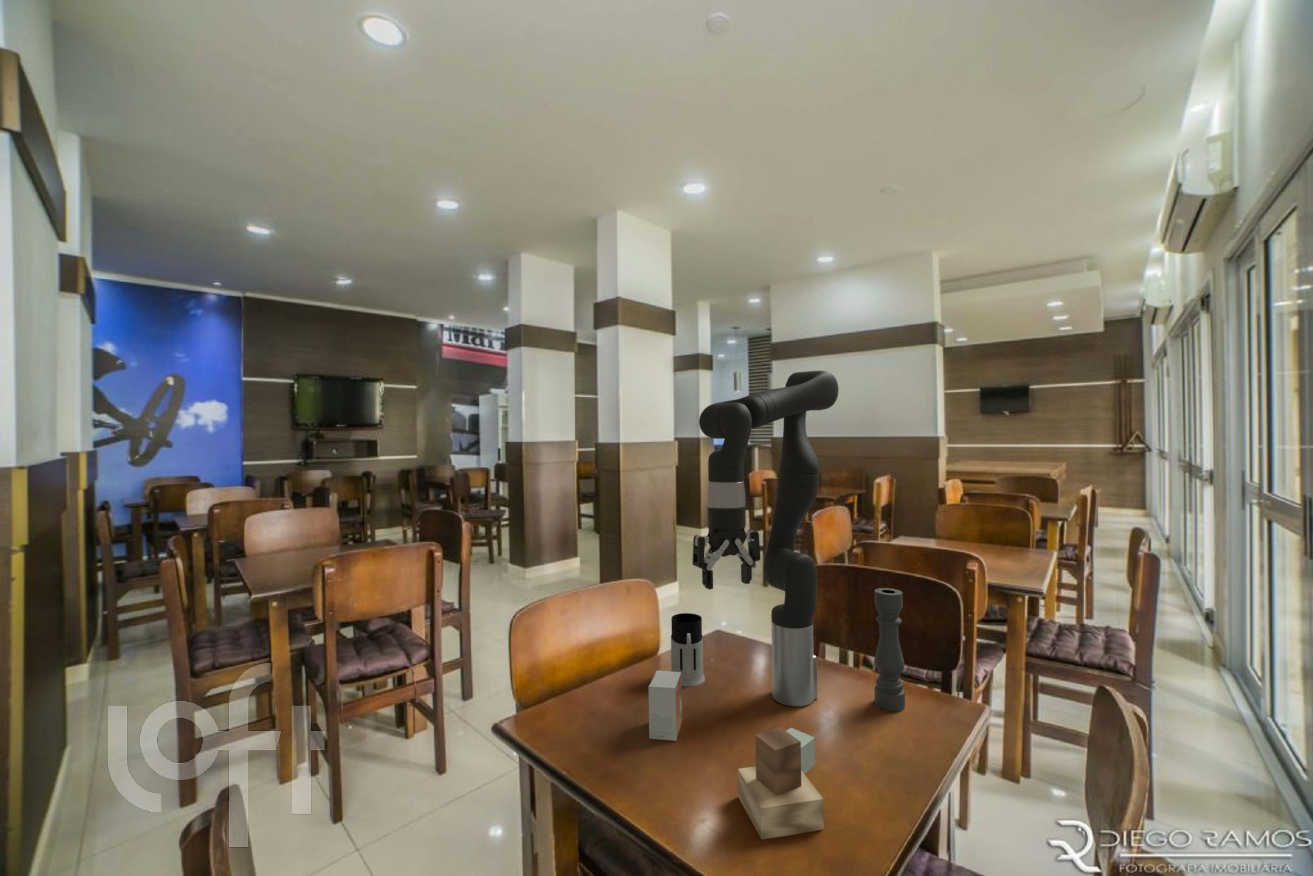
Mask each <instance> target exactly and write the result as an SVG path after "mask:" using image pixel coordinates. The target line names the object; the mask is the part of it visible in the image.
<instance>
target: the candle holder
mask: <svg viewBox="0 0 1313 876" xmlns="http://www.w3.org/2000/svg"><path fill="white" fill-rule="evenodd" d="M903 603H904V602H903V591H902V590H899V589H895V588H891V587H890V588H888V587H878V588H876V589H874V606H875V608H876V611H877V613H878V614H879V615H877V616H876V618H875V620H876V622H877V623H878V624H879V639H878V643H877V645H876V646H877V647H876V651H875V656H874V665H875V667H876V669H877V671H878V674H879V675H878V677H877V678H876V679H875V686H874V704H875V705H876V707H878V708H879V709H882V710H884V711H888V712H902V711H904V710H905V709H906V691H905V690H904V683H903V682H902V680H901V678H900V677H901V674H902V673H903V671H904V667H905V660H904V656H903V652H902V648H901V644H900V640H899V626H900V625H902V619H901V618H900V617H899V616H900V613H901V612H902V609H903Z"/></svg>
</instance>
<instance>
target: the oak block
mask: <svg viewBox="0 0 1313 876" xmlns="http://www.w3.org/2000/svg"><path fill="white" fill-rule="evenodd" d="M737 782H738V784H737V786H738V789H737V790H738V793H737V794H738V795H737V796H738V799H739V800H740V803H741V804H742V807H743V808H744V811H745V812H746V814H747V815H748V818H749V819H750V821H751V823H752V825H753V827H754V829H755V831H756V832H757V834H758V836H759V838H760V839H761V840H767V839H773V838H774V839H775V838H779V837H780V838H781V837H787V836H793V835H799V834H804V833H810V832H816V831H817V832H819V831H822V830H824V829H825V827H824V822H825V820H824V819H825V818H824V815H825V814H824V798H823V796H822V795H821V794H820V792H819V791H818V790H817V788H816V787H815V786H814V785H813V783H812V782H811V781H810V779H809V778H808V777H807V775H806V773H805V774H804V773H803V772H802V770H801V786H800V787H798V788H795V789H793V790H790V791H788V792H785V793H782V794H780V795H777V796H776V795H775V794H774V793H772V792H771V791H770V790H769V789H768V788H767V787H766V786H764V785H763V784H762V783H761V782H760V781H759V780H758V779H756V765H755V766H750V767H749V766H747V767H741V768H738V769H737Z"/></svg>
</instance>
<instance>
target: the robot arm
mask: <svg viewBox="0 0 1313 876" xmlns="http://www.w3.org/2000/svg"><path fill="white" fill-rule="evenodd" d="M838 396H839V383H838V380H837V378H836V377H835V375H834V374H833V373H831V372H829V371H826V370H810V371H808V370H806V371H798V372H796V371H795V372H793V373H791V374H790V375H789V376H788V378H787V381H786V383H785V387H778V388H777V387H776V388H769V389H767V390H766V389H765V390H762V391H757V392H755V393H752V394H749V395H746V396H743V397H740V398H736V399H730V400H724V401H720V402H716V403H712V404H709V405H708V406H706V407H705V408H704V409H703V410H702V412H701V413H700V415H699V419H698V423H699V424H698V425H699V429H700V430H701V432H702V433H703V434H704V436H706V437H707V438H710V439H713V440H721V439H722V440H723V442H722V443H723V444H722V445H721V446H722V447H721V449H719V450H715V451H713V452H711V453H710V454H709V456H708V461H707V464H708V465H707V468H708V469H707V471H708V473H707V478H708V482H707V483H708V484H707V493H706V495H707V496H706V497H707V499H706V500H707V501H706V502H707V504H706V505H707V509H706V511H707V514H706V515H707V528H708V532H707V533H708V534H707V535H703V536H702V535H698V534H695V535H694V536H693V542H692V543H693V544H692V565H693V566H694V567H696V568H699V569H701V577H702V578H701V580H702V582H701V583H702V585H703V587H704V588H705V589H706V590H713V589H714V571H713V570H712V569H713V568H714V566H715V564H716V563H717V562H718V561H719V560H720V559H721V557H728V556H737V557H738V559H739V560H740V562H741V563H740V580H741V581H740V582H741V583H743V584H745V585H749V584H751V581H752V578H753V573H752V571H753V570H752V569H753V566H752V565H753V564H754V563H755V562H760V560H761V548H760V547H761V546H760V533H759V531H756V530H752V529H749V530H747V531H745V528H746V525H747V523H746V521H747V519H746V517H747V515H746V513H747V511H746V510H747V509H746V507H747V506H746V505H747V503H746V501H747V500H746V488H745V477H744V476H745V471H744V469H745V468H744V467H745V466H744V464H745V463H744V461H745V457H746V453H747V449H748V446H749V441H750V436H751V433H752V430H753V429H759V428H761V427H763V426H767V425H768V424H771V423H774V422H777V421H779V420H781V419H782V420H783V429H782V444H781V453H780V460H779V467H778V468H779V469H778V474H777V475H778V476H777V482H776V483H777V484H776V495H775V501H774V502H775V503H774V510H773V515H772V516H773V517H772V524H771V529H770V533H769V534H770V535H769V538H768V543H767V548H766V552H765V556H764V563H763V574H764V575H763V576H764V579H765V581H766V583H767V584H768V585H769V586H771V587H772V588H773V589H774V588H775V589H777V590H780V591H783V592H784V601H783V603H782V604H778V605H775V606H773V607H772V609H771V614H770V616H771V617H770V618H771V619H770V620H771V621H770V622H771V685H772V686H771V694H772V698H773V699H774V700H775V701H776V702H778V703H779V704H780V705H781V704H782V705H786V706H789V707H805V706H809V705H810V704H812V703H813V702H814V701H815V700H817V699H818V658H817V655H816V654H814V616H815V612H816V609H817V597H818V596H817V595H818V570H817V564H816V562H815V560H814V559H813V558H812V557H811V556H810V555H808V554H807V553H806V554H805V553H802V552H797V551H795V549H796V548H795V547H796V540H797V539H796V538H797V534H798V529H799V527H800V525H801V523H802V522H803V520H804V518H806V516H807V514H808V513H809V511H810V510H811V508H812V507H813V505H814V503H815V501H816V499H817V496H818V491H819V482H820V481H819V480H820V471H821V470H820V469H821V468H820V464H819V460H818V457H817V455H816V453H815V451H814V448H813V447H812V445H811V442H810V440H809V437H808V434H807V430H806V429H807V427H806V422H807V421H806V417H807V412H810V411H823V410H827V409H830V408H831V407H832V406H834V404H835V403H836V401H837V400H838ZM746 541H747V549H748V550H747V549H746V547H745V546H744V544H745V542H746ZM707 544H708V545H709V547H708V549H707V550H706V551H705V548H706V547H707Z"/></svg>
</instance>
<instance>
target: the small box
mask: <svg viewBox="0 0 1313 876" xmlns="http://www.w3.org/2000/svg"><path fill="white" fill-rule="evenodd" d="M682 688H683V686H682V673H681V672H671V670H670V671H668V670H656V671H655V672H654V676H653V678H652V680H651V682H650V683H649V685H648V730H649V731H648V734H649V735H648V736H649V737H648V738H649V739H650V740H651V739H652V740H660V741H661V740H662V741H673V742H677V740H678V736H679V733H680V730H681V726H682V723H683V702H682V701H683V700H682V699H683V698H682V697H683V694H682V692H683V689H682Z"/></svg>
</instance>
